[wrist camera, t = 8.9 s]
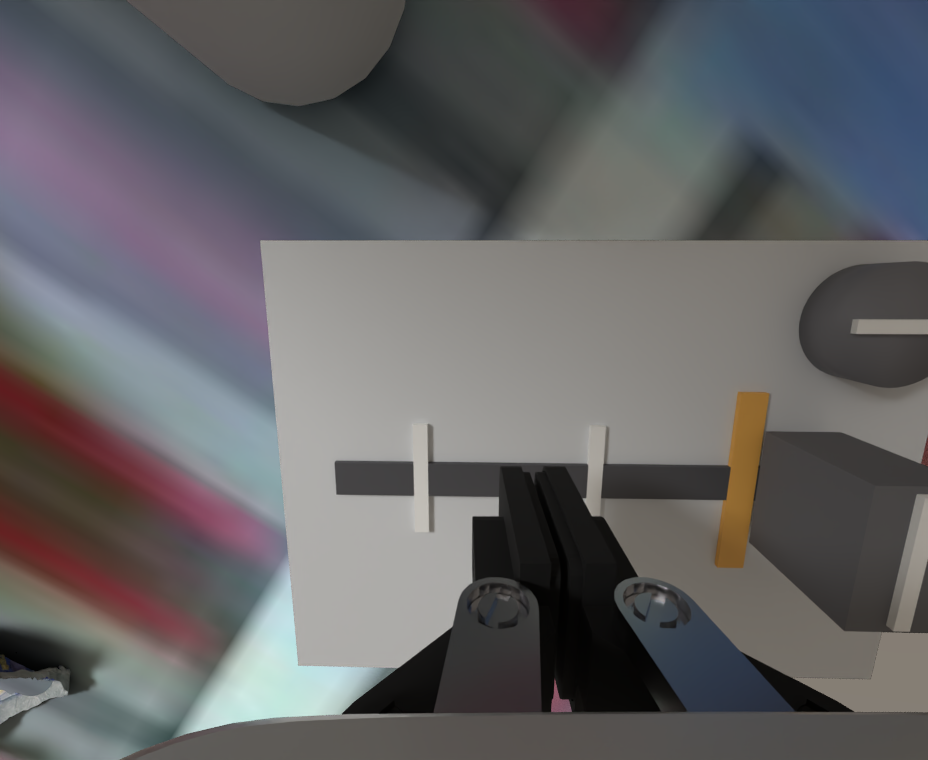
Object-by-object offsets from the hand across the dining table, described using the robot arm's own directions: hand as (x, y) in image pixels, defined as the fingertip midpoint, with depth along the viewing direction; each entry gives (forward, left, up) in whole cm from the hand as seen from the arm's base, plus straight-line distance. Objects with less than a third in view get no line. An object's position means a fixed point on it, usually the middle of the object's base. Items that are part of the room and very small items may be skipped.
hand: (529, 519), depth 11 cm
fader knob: (+1, +9, -4) cm, 10 cm away
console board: (+1, +3, -6) cm, 7 cm away
